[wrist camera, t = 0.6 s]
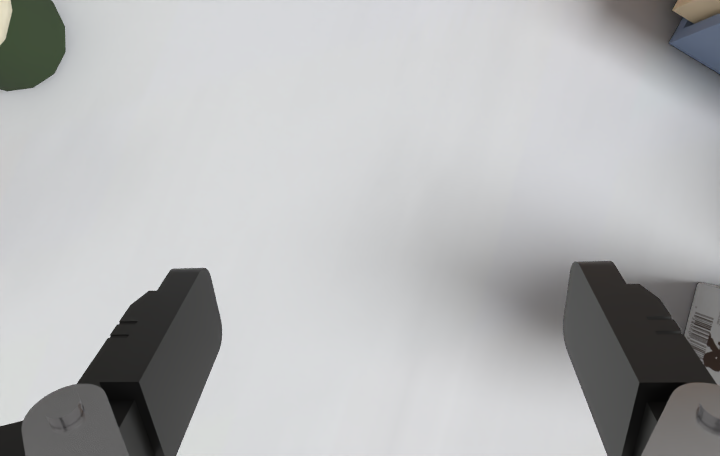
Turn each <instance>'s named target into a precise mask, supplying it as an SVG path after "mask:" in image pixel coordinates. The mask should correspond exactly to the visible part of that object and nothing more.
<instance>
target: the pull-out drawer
mask: <svg viewBox="0 0 720 456" xmlns="http://www.w3.org/2000/svg"><path fill="white" fill-rule="evenodd" d="M672 11H674V12H675V13H677V14H679V15H680V16H682V17H684V18H685V19H687V20H689V21H690V22H692V23H693V24H695V23H697V22H700V21H702V20H704V19H707V18H709V17H712V16H714V15H716V14H719V13H720V0H677V2H676V4H675V6H674V8H673V9H672Z"/></svg>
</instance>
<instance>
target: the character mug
mask: <svg viewBox="0 0 720 456" xmlns="http://www.w3.org/2000/svg"><path fill="white" fill-rule="evenodd" d="M64 54H65V26H64V24H63V22H62V20H61V18H60V16H59V14H58V11H57V9H56V7H55V5H54V3H53V2H52V1H51V0H0V89H1V90H5V91H12V90H19V89H27V88H33V87H35V86H36V85H38V84H39V83H41V82H42V81H44V80H45V79H47V78H48V77H50V76H52V75H53V74H54V73H55V71H56V69H57V67H58V65H59V64H60V62H61V60H62V58H63V56H64Z"/></svg>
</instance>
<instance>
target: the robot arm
mask: <svg viewBox="0 0 720 456" xmlns="http://www.w3.org/2000/svg"><path fill="white" fill-rule="evenodd" d="M119 322H120V324H119V325H117V326H116V327H115V329H114V330H113V332H112V333H111V334H110V335H111V337H110V338H108V339H107V340H106V342H105V343H104V345H103V346H102V348H101V349H100V351H99V352H98V354H97V355H96V356H95V358H94V359H93V361H92V362H91V364H90V365H89V367H88V368H87V370H86V371H85V373H84V374H83V376H82V377H81V378H80V380H79V381H78V383H77V384H75V385H70V386H67V387H64V388H61V389H58V390H56V391H54V392H52V393H50V394H49V395H47V396H45V397H44V398H43V399H41V400H40V401H39V402H37V403H36V404H35V405H34V406H33V407H32V408H31V409H30V410H29V412H28V413H27V415H26V416H25V418H24V420H23V421H20V422H16V423H12V424H8V425H4V426H0V456H176V454H177V452H178V450H179V447H180V445H181V442H182V440H183V437H184V435H185V432H186V430H187V428H188V425H189V423H190V420H191V418H192V415H193V413H194V410H195V408H196V406H197V403H198V401H199V398H200V396H201V393H202V391H203V389H204V386H205V384H206V381H207V379H208V376H209V374H210V371H211V369H212V367H213V364H214V362H215V359H216V357H217V354H218V352H219V349H220V346H221V340H222V324H221V319H220V314H219V310H218V306H217V301H216V297H215V293H214V288H213V284H212V280H211V276H210V273H209V271H208V270H207V269H206V268H184V269H172V270H170V272H169V273H168V275H167V276H166V278H165V279H164V281H163V282H162V284H161V286H160V287H159V289H158V290H157V291H148V292H147V293H146V294H144V295H143V296H142V297H140V298H139V299H138V300H137V301H135V302H134V303H133V304H131V305H130V307H129V308H128V310H127V311H126V312H125V314H124V315H123V317H122V318H121V320H120V321H119ZM563 333H564V341H565V345H566V349H567V351H568V354H569V356H570V359H571V362H572V364H573V367H574V370H575V372H576V375H577V377H578V380H579V383H580V385H581V388H582V390H583V393H584V396H585V398H586V401H587V403H588V406H589V409H590V411H591V414H592V416H593V419H594V422H595V424H596V427H597V429H598V432H599V435H600V437H601V440H602V442H603V445H604V448H605V450H606V453H607V456H720V386H719V385H717V383H716V382H715V380H714V379H713V377H712V376H711V374H710V373H709V372H708V370H707V369H706V367H705V366H704V364H703V363H702V361H701V360H700V358H699V357H698V355H697V354H696V352H695V351H694V349H693V348H692V346H691V345H690V343H689V342H688V340H687V339H686V337H685V336H684V334H681V330H680V328H679V327H678V325H677V324H676V323H675V321H674V320H672V319H671V315H670V314H669V312H668V311H667V309H666V308H665V306H664V305H663V303H662V302H661V300H660V299H659V298H658V297H656V296H655V295H654V294H652V293H651V292H649V291H648V290H647V289H645V288H644V287H642V286H641V285H640V284H626V282H625V281H624V279H623V278H622V276H621V274H620V273H619V271H618V269H617V268H616V266H615V265H614V263H613V262H611V261H592V262H574V263H573V264H572V267H571V271H570V277H569V284H568V291H567V298H566V305H565V312H564V319H563Z"/></svg>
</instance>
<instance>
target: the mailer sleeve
mask: <svg viewBox="0 0 720 456" xmlns="http://www.w3.org/2000/svg"><path fill="white" fill-rule="evenodd" d="M669 44H671V45H672V46H674V47H676V48H677V49H679V50H681V51H682V52H684V53H685V54H687V55H689V56H690V57H692V58H694V59H695V60H697V61H699V62H700V63H702V64H704V65H705V66H707V67H709V68H710V69H712V70H714V71H715V72H717V73H719V74H720V13H719V14H716V15H714V16H712V17H709V18H707V19H704V20H702V21H700V22H697V23H695V24H693V23H692V22H690V21H689V20H687V19H685V18H684V17H683V18H682V20H681V22H680V24H679V26H678V27H677V29H676V31H675V33H674V35H673V36H672V38H671V40H670V42H669Z"/></svg>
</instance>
